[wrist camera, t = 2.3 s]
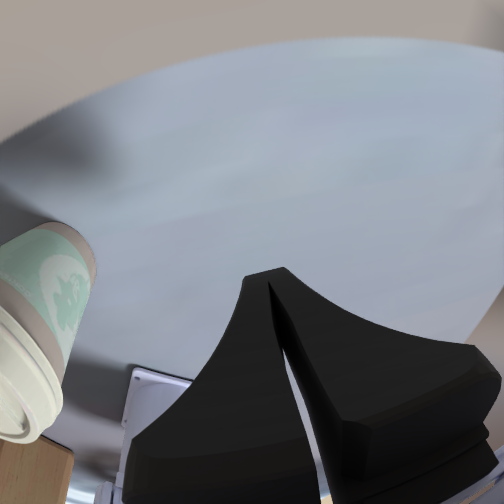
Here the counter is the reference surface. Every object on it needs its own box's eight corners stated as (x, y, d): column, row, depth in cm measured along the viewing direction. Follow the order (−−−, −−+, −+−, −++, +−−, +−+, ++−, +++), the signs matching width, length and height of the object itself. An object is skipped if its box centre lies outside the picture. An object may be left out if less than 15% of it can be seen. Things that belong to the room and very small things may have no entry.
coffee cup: (97, 331, 21) (48, 469, 10) (6, 281, 18) (-78, 388, 8) (134, 236, 18) (58, 385, 8) (25, 180, 16) (-110, 262, 5)
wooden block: (6, 439, 28) (-24, 545, 10) (8, 413, 25) (-34, 543, 7) (65, 470, 31) (47, 578, 13) (77, 450, 28) (55, 585, 10)
